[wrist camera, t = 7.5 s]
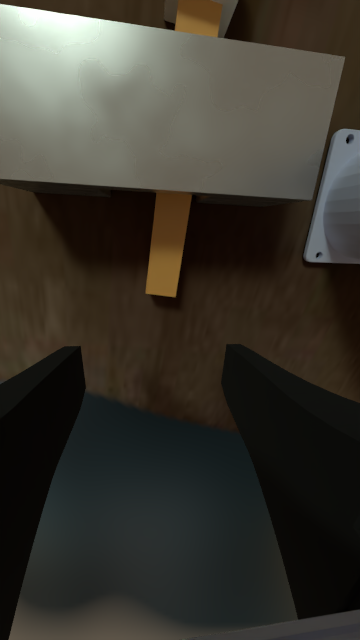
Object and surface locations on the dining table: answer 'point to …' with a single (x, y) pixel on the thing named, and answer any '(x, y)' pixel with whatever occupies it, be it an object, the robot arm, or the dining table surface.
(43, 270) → the dining table surface
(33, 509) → the robot arm
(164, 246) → the wooden stick
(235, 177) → the block
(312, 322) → the dining table surface
